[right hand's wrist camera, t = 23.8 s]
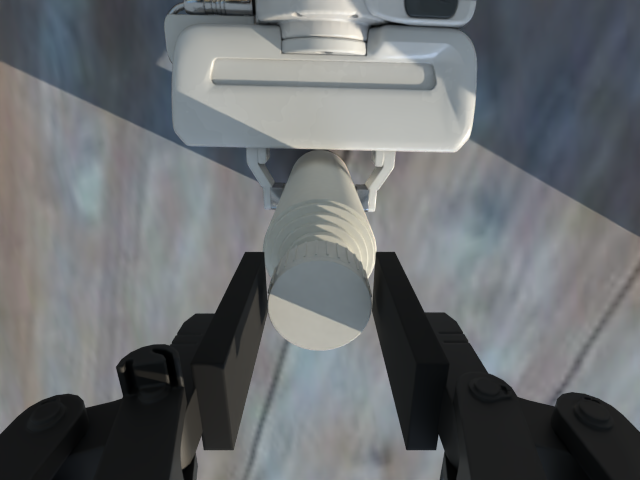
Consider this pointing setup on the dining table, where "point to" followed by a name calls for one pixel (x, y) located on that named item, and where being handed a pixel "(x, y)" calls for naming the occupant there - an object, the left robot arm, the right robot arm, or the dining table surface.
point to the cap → (319, 296)
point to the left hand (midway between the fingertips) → (320, 208)
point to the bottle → (319, 211)
